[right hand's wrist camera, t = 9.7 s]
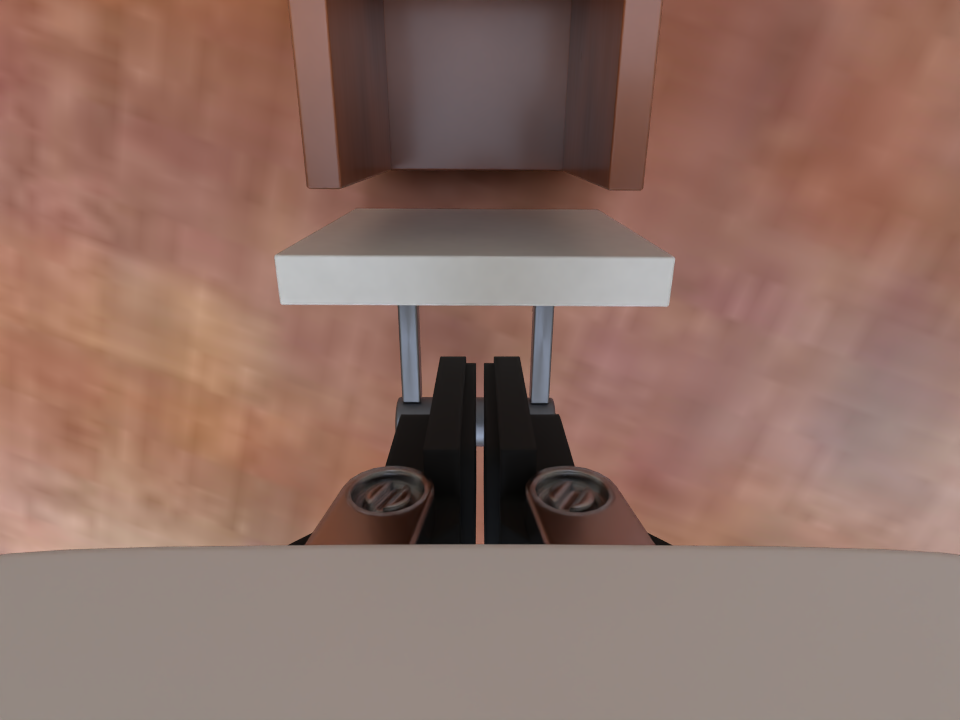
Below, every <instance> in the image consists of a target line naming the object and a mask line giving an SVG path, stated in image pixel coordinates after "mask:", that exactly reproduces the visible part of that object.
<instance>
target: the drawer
mask: <svg viewBox="0 0 960 720" xmlns="http://www.w3.org/2000/svg"><path fill="white" fill-rule="evenodd" d="M662 5H663V0H288V8H289V18H290V28H291V37H292V47H293V57H294V66H295V76H296V86H297V95H298V105H299V115H300V125H301V134H302V144H303V154H304V163H305V173H306V183H307V187H308V188H309V189H341V188H344V187H346V186H349V185H352V184H354V183H357V182H360V181H362V180H365V179H368V178H370V177H373V176H376V175H379V174H381V173H384V172H387V171H389V170H457V171H565V172H567V173H570V174H572V175H574V176H577V177H579V178H582V179H584V180H586V181H589V182H591V183H594V184H596V185H598V186H601V187H603V188H606V189H608V190H642V189H643V184H644V175H645V165H646V156H647V146H648V137H649V127H650V118H651V109H652V99H653V90H654V80H655V71H656V61H657V52H658V42H659V33H660V23H661V14H662ZM274 258H275V266H276V273H277V281H278V289H279V297H280V303H281V304H283V305H398V321H399V341H400V360H401V380H402V397H400V398H399V399H398V402H397V407H396V418H395V431H396V429H397V425H398V422H399V419H400V416H401V414H430V409H431V404H432V399H433V397H422V377H421V350H420V322H419V305H459V306H533V317H532V342H531V367H530V392H529V396H530V398H527V399H528V404H529V410H530V414H555V405H554V401H553V399H552V398H549V390H550V371H551V353H552V335H553V316H554V306H665V307H666V306H668V305H669V301H670V293H671V286H672V278H673V271H674V263H675V257H673V256H672V255H670V254H669V253H667V252H665V251H664V250H662V249H661V248H659V247H657V246H656V245H654V244H653V243H651V242H649V241H648V240H646V239H644V238H643V237H641V236H640V235H638V234H636V233H635V232H633V231H632V230H630V229H628V228H627V227H625V226H624V225H622V224H620V223H619V222H617V221H616V220H614V219H612V218H611V217H609V216H608V215H606V214H604V213H603V212H601V211H600V210H572V209H370V208H356V209H354V210H352V211H351V212H349V213H347V214H346V215H344V216H342V217H340V218H339V219H337V220H335V221H333V222H332V223H330V224H328V225H326V226H325V227H323V228H321V229H320V230H318V231H316V232H314V233H313V234H311V235H309V236H307V237H306V238H304V239H302V240H300V241H299V242H297V243H295V244H294V245H292V246H290V247H288V248H287V249H285V250H283V251H281V252H280V253H278V254H276V255H275V257H274ZM476 446H484V397H476Z"/></svg>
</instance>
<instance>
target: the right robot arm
mask: <svg viewBox="0 0 960 720" xmlns="http://www.w3.org/2000/svg"><path fill="white" fill-rule="evenodd" d="M0 720H960V555H957V554H948V553H937V552H921V551H904V550H888V549H855V548H817V547H780V546H673V545H671V544H669V543H667V542H665V541H663V540H661V539H659V538H657V537H655V536H653V535H651V534H649V533H647V532H646V530H645V529H644V527H643V526H642V524H641V523H640V521H639V520H638V518H637V517H636V515H635V514H634V512H633V511H632V509H631V508H630V506H629V505H628V503H627V502H626V500H625V499H624V497H623V496H622V494H621V493H620V491H619V490H618V488H617V487H616V486H615V484H614V483H613V482H612V481H611V480H610V479H608V478H607V477H605V476H603V475H602V474H600V473H598V472H595V471H592V470H589V469H587V468H581V467H575V466H574V463H573V459H572V456H571V452H570V449H569V446H568V442H567V439H566V435H565V432H564V429H563V425H562V422H561V419H560V416H559V414H530V410H529V404H528V399H527V394H526V388H525V383H524V378H523V372H522V367H521V362H520V357H494V363H484V544H476V363H466V357H440V362H439V367H438V372H437V378H436V383H435V388H434V394H433V399H432V404H431V409H430V414H401V416H400V419H399V422H398V425H397V429H396V432H395V435H394V439H393V442H392V446H391V449H390V452H389V456H388V459H387V463H386V466H385V467H379V468H373V469H371V470H368V471H365V472H362V473H360V474H358V475H357V476H355V477H353V478H352V479H350V480H349V481H348V482H347V483H346V484H345V486H344V487H343V488H342V490H341V491H340V493H339V494H338V496H337V497H336V499H335V500H334V502H333V503H332V505H331V506H330V508H329V509H328V511H327V512H326V514H325V515H324V517H323V518H322V520H321V521H320V523H319V524H318V526H317V527H316V529H315V530H314V532H313V533H311V534H309V535H307V536H305V537H303V538H301V539H299V540H297V541H295V542H293V543H291V544H289V545H286V546H193V547H139V548H106V549H74V550H54V551H40V552H25V553H11V554H2V555H0Z"/></svg>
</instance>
